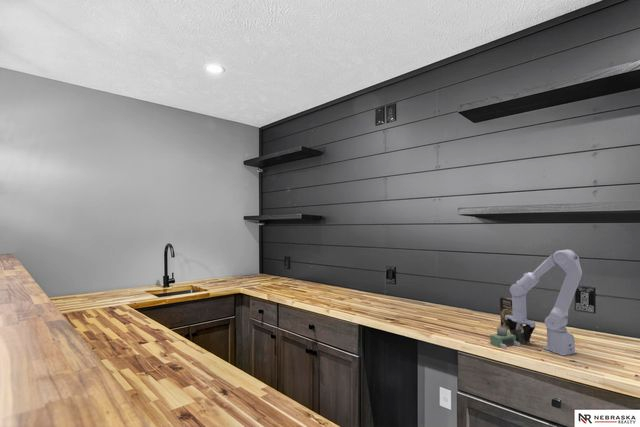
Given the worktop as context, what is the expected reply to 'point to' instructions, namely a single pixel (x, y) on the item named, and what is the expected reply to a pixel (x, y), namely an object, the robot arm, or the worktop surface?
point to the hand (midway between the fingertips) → (520, 338)
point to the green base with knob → (503, 338)
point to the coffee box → (507, 312)
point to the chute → (519, 336)
